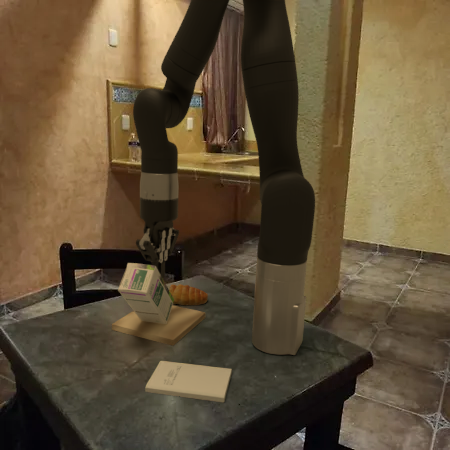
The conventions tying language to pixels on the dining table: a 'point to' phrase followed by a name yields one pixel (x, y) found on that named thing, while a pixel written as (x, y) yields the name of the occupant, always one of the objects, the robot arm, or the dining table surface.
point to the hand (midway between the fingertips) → (158, 278)
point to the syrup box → (146, 293)
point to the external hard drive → (190, 381)
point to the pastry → (187, 295)
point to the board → (161, 325)
